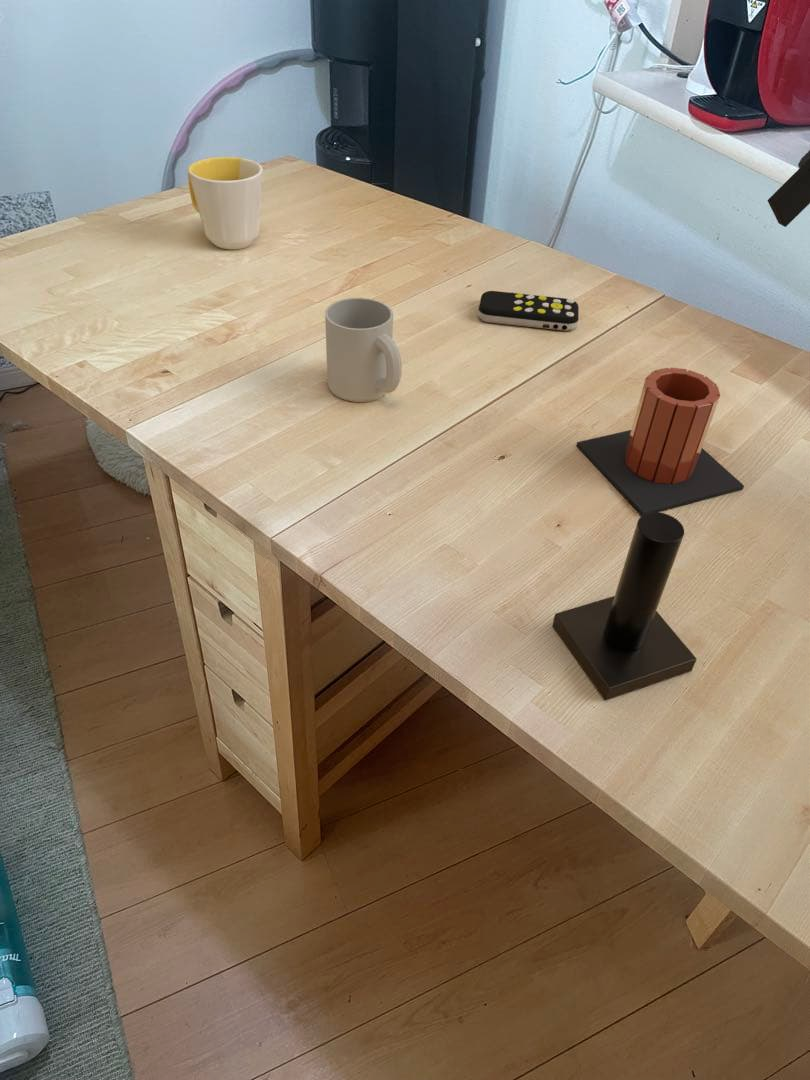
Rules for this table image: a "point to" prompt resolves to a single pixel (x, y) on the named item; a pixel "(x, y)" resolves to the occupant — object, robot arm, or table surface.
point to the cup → (361, 350)
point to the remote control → (528, 310)
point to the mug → (227, 199)
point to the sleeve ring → (671, 424)
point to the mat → (647, 494)
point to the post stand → (631, 618)
